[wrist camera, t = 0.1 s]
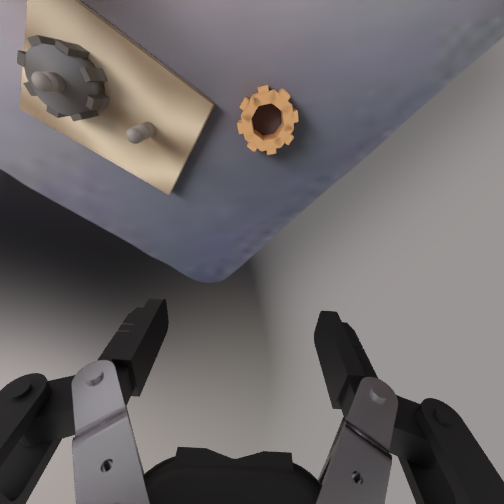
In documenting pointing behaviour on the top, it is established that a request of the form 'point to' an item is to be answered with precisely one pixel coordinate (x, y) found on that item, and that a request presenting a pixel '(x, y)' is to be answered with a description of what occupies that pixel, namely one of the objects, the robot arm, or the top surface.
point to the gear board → (108, 92)
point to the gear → (283, 131)
